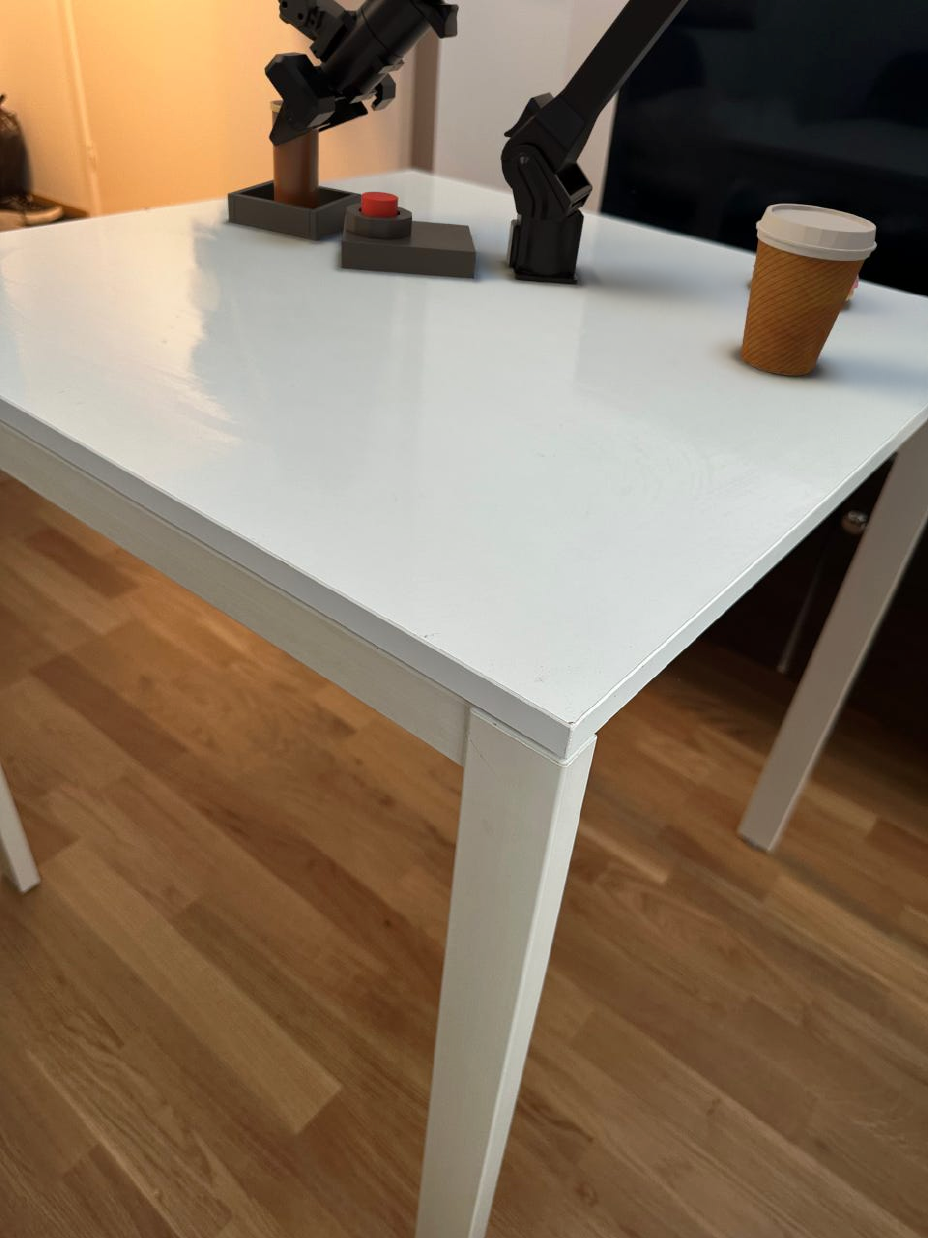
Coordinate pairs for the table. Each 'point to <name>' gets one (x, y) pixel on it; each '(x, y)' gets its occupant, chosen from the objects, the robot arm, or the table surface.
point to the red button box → (406, 245)
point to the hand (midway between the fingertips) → (284, 138)
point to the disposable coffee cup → (801, 283)
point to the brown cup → (296, 168)
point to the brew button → (379, 204)
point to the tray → (290, 211)
